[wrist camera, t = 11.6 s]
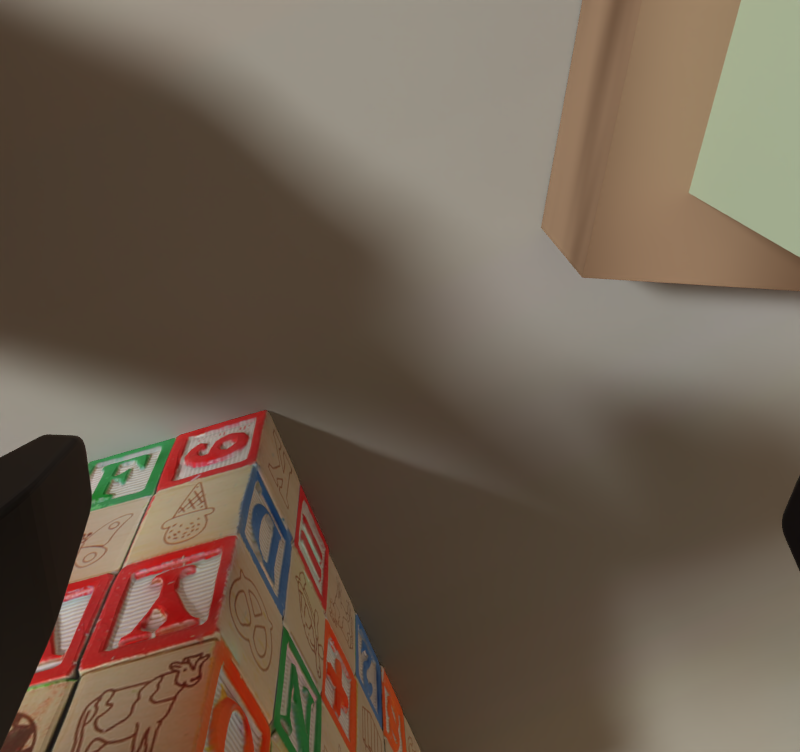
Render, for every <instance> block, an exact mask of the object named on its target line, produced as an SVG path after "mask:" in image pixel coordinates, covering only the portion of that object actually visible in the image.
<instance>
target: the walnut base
mask: <svg viewBox="0 0 800 752" xmlns="http://www.w3.org/2000/svg"><path fill="white" fill-rule="evenodd" d="M740 3H741V0H582V6H581V11H580V17H579V22H578V28H577V33H576V39H575V44H574V50H573V55H572V61H571V66H570V72H569V77H568V83H567V88H566V94H565V99H564V105H563V110H562V116H561V121H560V127H559V132H558V138H557V143H556V149H555V154H554V160H553V165H552V171H551V176H550V182H549V187H548V193H547V198H546V204H545V209H544V215H543V220H542V226H541V228H542V229H543V230H544V232H545V233H546V234H547V235H548V236H549V238H550V239H551V240H552V241H553V243H554V244H555V245H556V246H557V247H558V249H559V250H560V251H561V252H562V253H563V255H564V256H565V257H566V258H567V259H568V261H569V262H570V263H571V264H572V266H573V267H574V268H575V269H576V270H577V272H578V273H579V274H580V275H581V276H582V277H583V278H599V279H615V280H631V281H647V282H663V283H679V284H695V285H711V286H727V287H743V288H759V289H775V290H791V291H800V257H798V256H797V255H795V254H793V253H791V252H790V251H788V250H786V249H784V248H783V247H781V246H779V245H778V244H776V243H774V242H772V241H771V240H769V239H767V238H766V237H764V236H762V235H760V234H759V233H757V232H755V231H753V230H752V229H750V228H748V227H747V226H745V225H743V224H741V223H740V222H738V221H736V220H735V219H733V218H731V217H729V216H728V215H726V214H724V213H722V212H721V211H719V210H717V209H716V208H714V207H712V206H710V205H709V204H707V203H705V202H704V201H702V200H700V199H698V198H697V197H695V196H693V195H691V194H690V193H689V190H690V186H691V182H692V179H693V175H694V171H695V168H696V164H697V160H698V157H699V153H700V149H701V146H702V142H703V138H704V135H705V131H706V127H707V124H708V120H709V116H710V113H711V109H712V105H713V102H714V98H715V94H716V91H717V87H718V83H719V80H720V76H721V72H722V69H723V65H724V61H725V58H726V54H727V50H728V47H729V43H730V39H731V36H732V32H733V28H734V25H735V21H736V17H737V14H738V10H739V6H740Z"/></svg>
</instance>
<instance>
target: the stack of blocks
mask: <svg viewBox="0 0 800 752" xmlns="http://www.w3.org/2000/svg"><path fill="white" fill-rule="evenodd" d="M88 469H89V476H90V483H91V490H92V505H91V511H90V515H89V518H88V521H87V525H86V528H85V531H84V534H83V538H82V541H81V544H80V548H79V551H78V554H77V557H76V561H75V564H74V567H73V570H72V574H71V577H70V580H69V584H68V587H67V590H66V593H65V597H64V600H63V603H62V606H61V610H60V613H59V616H58V619H57V622H56V624H55V627H54V630H53V632H52V635H51V637H50V639H49V642H48V644H47V647H46V649H45V651H44V653H43V656H42V658H41V660H40V662H39V665H38V667H37V669H36V672H35V674H34V676H33V678H32V681H31V683H30V685H29V687H28V690H27V692H26V694H25V696H24V699H23V701H22V703H21V705H20V708H19V710H18V712H17V715H16V717H15V719H14V721H13V724H12V726H11V728H10V730H9V733H8V735H7V737H6V739H5V742H4V744H3V746H2V748H1V751H0V752H421V751H420V748H419V746H418V744H417V742H416V739H415V737H414V735H413V733H412V731H411V729H410V726H409V724H408V722H407V720H406V718H405V716H404V715H403V711H402V708H401V706H400V704H399V701H398V699H397V697H396V695H395V692H394V690H393V688H392V686H391V683H390V681H389V679H388V677H387V675H386V672H385V670H384V668H383V666H381V665H379V662H378V659H377V657H376V654H375V652H374V650H373V648H372V646H371V644H370V641H369V639H368V637H367V635H366V633H365V630H364V628H363V626H362V624H361V621H360V619H359V617H358V614H357V613H356V612H354V608H353V605H352V603H351V601H350V598H349V596H348V594H347V592H346V590H345V587H344V585H343V583H342V581H341V579H340V576H339V574H338V572H337V570H336V568H335V566H334V563H333V561H332V559H331V557H330V555H329V547H328V545H327V543H326V541H325V538H324V536H323V534H322V531H321V529H320V527H319V525H318V523H317V521H316V518H315V516H314V514H313V511H312V509H311V507H310V505H309V502H308V500H307V498H306V496H305V494H304V491H303V489H302V487H301V485H300V483H299V479H298V476H297V474H296V471H295V469H294V467H293V465H292V462H291V460H290V458H289V455H288V453H287V451H286V449H285V446H284V444H283V442H282V440H281V437H280V435H279V433H278V431H277V428H276V426H275V424H274V422H273V420H272V417H271V415H270V414H269V412H268V411H267V410H264V411H260V412H256V413H253V414H249V415H246V416H243V417H239V418H236V419H232V420H229V421H226V422H222V423H219V424H215V425H212V426H209V427H205V428H202V429H198V430H195V431H192V432H189V433H185V434H181V435H179V436H178V437H176V438H173V439H170V440H166V441H163V442H159V443H156V444H152V445H149V446H145V447H142V448H138V449H135V450H131V451H128V452H124V453H121V454H117V455H114V456H110V457H107V458H104V459H100V460H96V461H92V462H90V463H88Z"/></svg>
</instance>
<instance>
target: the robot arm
mask: <svg viewBox="0 0 800 752" xmlns="http://www.w3.org/2000/svg"><path fill="white" fill-rule="evenodd" d="M91 505H92V490H91V483H90V476H89V469H88V462H87V454H86V448H85V445H84V442H83V440H82V439H81V438H80V437H78V436H73V435H43V436H41V437H39V438H37V439H35V440H33V441H31V442H29V443H27V444H25V445H23V446H21V447H19V448H17V449H16V450H14V451H12V452H10V453H8V454H6V455H4V456H2V457H0V751H1V748H2V746H3V744H4V742H5V739H6V737H7V735H8V733H9V730H10V728H11V726H12V724H13V721H14V719H15V717H16V715H17V712H18V710H19V708H20V705H21V703H22V701H23V699H24V696H25V694H26V692H27V690H28V687H29V685H30V683H31V681H32V678H33V676H34V674H35V672H36V669H37V667H38V665H39V662H40V660H41V658H42V656H43V653H44V651H45V649H46V647H47V644H48V642H49V639H50V637H51V635H52V632H53V630H54V627H55V624H56V622H57V619H58V616H59V613H60V610H61V606H62V603H63V600H64V597H65V593H66V590H67V587H68V584H69V580H70V577H71V574H72V570H73V567H74V564H75V561H76V557H77V554H78V551H79V548H80V544H81V541H82V538H83V534H84V531H85V528H86V525H87V521H88V518H89V515H90V511H91ZM782 528H783V533H784V536H785V538H786V541H787V543H788V545H789V548H790V550H791V552H792V554H793V557H794V559H795V561H796V564H797V566H798V568H799V571H800V476H799V478H798V480H797V483H796V485H795V487H794V490H793V492H792V494H791V497H790V499H789V502H788V504H787V506H786V509H785V511H784V514H783V518H782Z"/></svg>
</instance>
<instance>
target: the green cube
mask: <svg viewBox="0 0 800 752" xmlns="http://www.w3.org/2000/svg"><path fill="white" fill-rule="evenodd" d="M689 193H690V194H691V195H693V196H695V197H697V198H698V199H700V200H702V201H704V202H705V203H707V204H709V205H710V206H712V207H714V208H716V209H717V210H719V211H721V212H722V213H724V214H726V215H728V216H729V217H731V218H733V219H735V220H736V221H738V222H740V223H741V224H743V225H745V226H747V227H748V228H750V229H752V230H753V231H755V232H757V233H759V234H760V235H762V236H764V237H766V238H767V239H769V240H771V241H772V242H774V243H776V244H778V245H779V246H781V247H783V248H784V249H786V250H788V251H790V252H791V253H793V254H795V255H797V256H798V257H800V0H741V3H740V6H739V10H738V14H737V17H736V21H735V25H734V28H733V32H732V36H731V39H730V43H729V47H728V50H727V54H726V58H725V61H724V65H723V69H722V72H721V76H720V80H719V83H718V87H717V91H716V94H715V98H714V102H713V105H712V109H711V113H710V116H709V120H708V124H707V127H706V131H705V135H704V138H703V142H702V146H701V149H700V153H699V157H698V160H697V164H696V168H695V171H694V175H693V179H692V182H691V186H690V190H689Z"/></svg>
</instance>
